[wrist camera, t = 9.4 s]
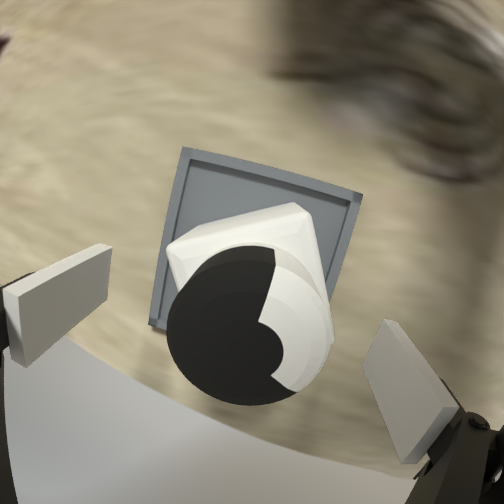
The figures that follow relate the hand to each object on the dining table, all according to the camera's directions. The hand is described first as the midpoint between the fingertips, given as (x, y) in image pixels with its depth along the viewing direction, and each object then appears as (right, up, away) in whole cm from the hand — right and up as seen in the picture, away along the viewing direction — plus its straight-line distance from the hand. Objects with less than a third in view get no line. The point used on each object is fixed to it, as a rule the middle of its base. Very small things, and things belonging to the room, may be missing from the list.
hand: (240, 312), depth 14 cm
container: (+1, +2, +10) cm, 10 cm away
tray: (0, +2, +11) cm, 11 cm away
